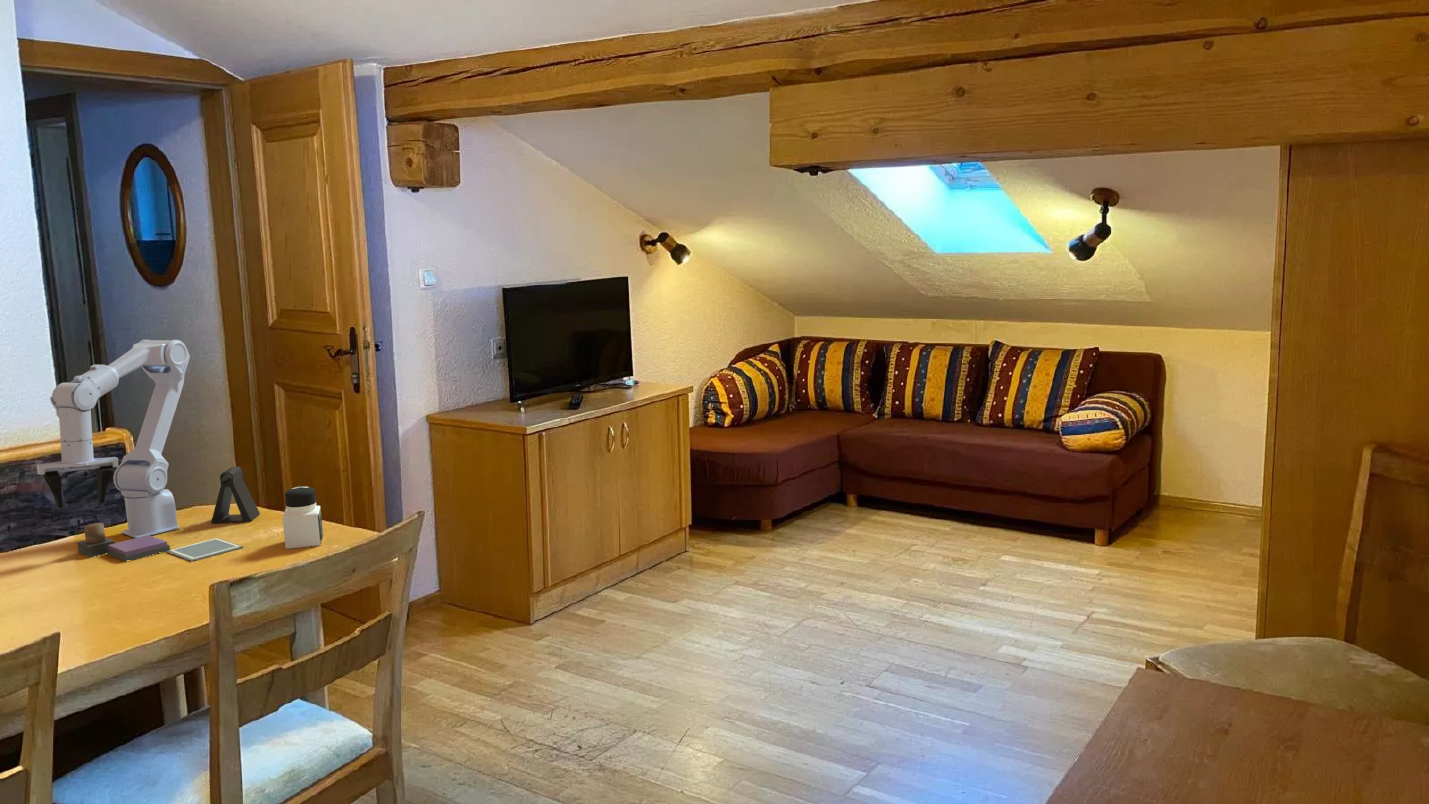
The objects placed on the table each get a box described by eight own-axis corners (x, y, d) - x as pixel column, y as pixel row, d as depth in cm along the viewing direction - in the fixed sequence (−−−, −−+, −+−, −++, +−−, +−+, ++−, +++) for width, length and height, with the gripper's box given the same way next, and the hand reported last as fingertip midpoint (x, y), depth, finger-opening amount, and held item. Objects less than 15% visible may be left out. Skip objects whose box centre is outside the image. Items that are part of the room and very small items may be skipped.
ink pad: (150, 543, 233) (149, 534, 233) (170, 550, 227) (169, 541, 227) (106, 554, 226) (105, 545, 226) (125, 562, 220) (124, 552, 220)
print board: (217, 539, 235) (217, 537, 235) (243, 547, 228) (243, 546, 228) (166, 552, 226) (166, 550, 226) (191, 561, 219) (191, 559, 219)
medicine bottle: (321, 545, 228) (316, 491, 226) (285, 549, 226) (280, 494, 224) (323, 536, 235) (318, 483, 233) (288, 540, 233) (283, 486, 231)
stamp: (103, 547, 232) (100, 520, 230) (115, 552, 228) (112, 525, 227) (78, 553, 228) (75, 526, 227) (90, 558, 224) (87, 530, 223)
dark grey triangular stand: (260, 514, 253) (255, 465, 251) (251, 522, 247) (245, 471, 245) (221, 516, 253) (215, 467, 251) (211, 523, 247) (205, 473, 245)
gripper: (40, 445, 215) (45, 512, 216) (120, 438, 225) (124, 502, 226) (32, 442, 220) (37, 507, 221) (111, 435, 230) (115, 498, 231)
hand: (80, 504), depth 224 cm, fingers open, 7 cm apart
